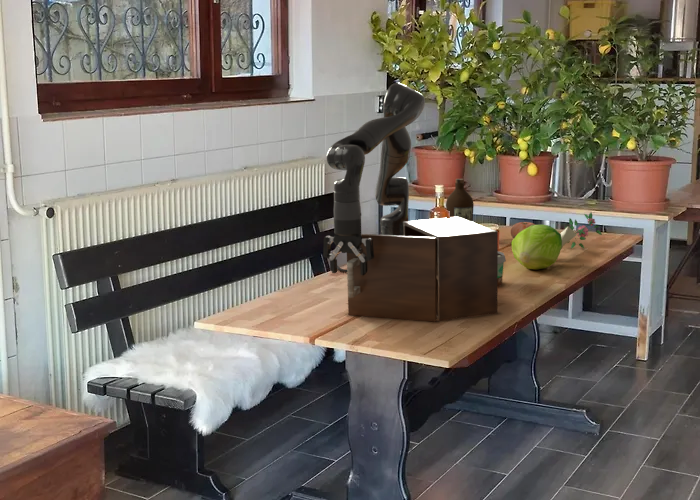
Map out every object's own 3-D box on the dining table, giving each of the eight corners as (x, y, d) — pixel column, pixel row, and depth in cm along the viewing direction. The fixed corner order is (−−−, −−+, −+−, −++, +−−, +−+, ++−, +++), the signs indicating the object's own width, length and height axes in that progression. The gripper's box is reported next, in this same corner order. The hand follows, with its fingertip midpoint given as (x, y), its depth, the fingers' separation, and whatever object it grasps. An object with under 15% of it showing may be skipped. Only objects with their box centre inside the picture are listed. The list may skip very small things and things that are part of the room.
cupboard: (439, 321, 261) (438, 236, 256) (404, 298, 285) (403, 221, 280) (497, 313, 266) (497, 231, 261) (458, 292, 291) (458, 216, 286)
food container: (504, 289, 292) (505, 258, 290) (484, 289, 294) (485, 258, 292) (506, 280, 304) (506, 250, 302) (487, 279, 305) (487, 249, 303)
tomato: (541, 244, 357) (541, 223, 356) (512, 245, 358) (513, 224, 356) (536, 238, 368) (536, 218, 366) (508, 239, 368) (508, 219, 366)
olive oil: (442, 241, 368) (442, 178, 363) (468, 239, 370) (467, 176, 365) (451, 246, 358) (451, 181, 353) (477, 244, 360) (477, 180, 355)
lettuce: (503, 278, 316) (496, 235, 313) (530, 261, 331) (524, 219, 328) (548, 279, 306) (542, 234, 302) (573, 261, 321) (568, 218, 317)
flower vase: (541, 279, 334) (577, 240, 360) (572, 273, 326) (607, 234, 352) (530, 249, 332) (567, 213, 358) (560, 243, 324) (596, 206, 350)
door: (429, 327, 255) (428, 242, 250) (340, 320, 264) (338, 238, 259) (436, 320, 261) (436, 237, 256) (350, 313, 271) (347, 233, 266)
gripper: (318, 218, 257) (320, 275, 260) (366, 220, 252) (368, 278, 255) (328, 213, 263) (330, 269, 267) (376, 215, 258) (377, 272, 262)
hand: (348, 273), depth 261 cm, fingers open, 8 cm apart
